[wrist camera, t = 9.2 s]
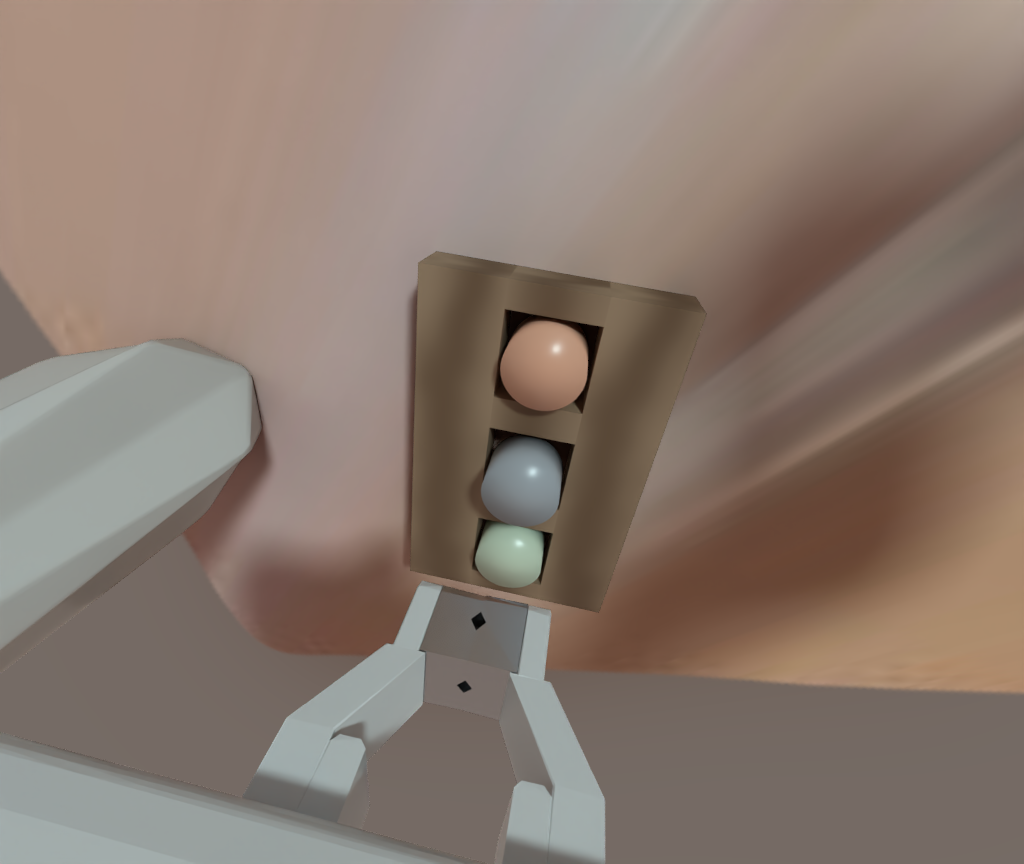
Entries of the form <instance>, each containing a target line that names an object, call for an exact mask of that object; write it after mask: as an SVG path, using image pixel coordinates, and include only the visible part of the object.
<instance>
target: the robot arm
mask: <svg viewBox="0 0 1024 864" xmlns="http://www.w3.org/2000/svg"><path fill="white" fill-rule="evenodd" d="M550 622H551V611H550V610H549V609H544V608H539V607H535V606H530V605H529V606H528V604H524V603H519V602H514V601H510V600H505V599H500V598H495V597H491V596H482V595H478V594H474V593H470V592H466V591H462V590H458V589H455V588H451V587H447V586H443V585H439V584H434V583H430V582H426V581H422V582H421V583H420V584H419V586H418V587H417V590H416V592H415V594H414V597H413V599H412V601H411V604H410V606H409V608H408V611H407V613H406V615H405V618H404V620H403V622H402V625H401V627H400V629H399V632H398V634H397V636H396V639H395V641H394V644H389V643H386V644H385V645H383V646H382V647H381V648H379V649H378V650H377V651H375V652H374V653H373V654H371V655H370V656H369V657H367V658H366V659H365V660H363V661H362V662H361V663H359V664H358V665H357V666H355V667H354V668H353V669H351V670H350V671H349V672H347V673H346V674H345V675H343V676H342V677H341V678H339V679H338V680H336V681H335V682H334V683H332V684H331V685H330V686H328V687H327V688H326V689H325V690H323V691H322V692H320V693H319V694H318V695H316V696H315V697H314V698H312V699H311V700H310V701H308V702H307V703H306V704H304V705H303V706H302V707H300V708H299V709H298V710H296V711H295V712H294V713H292V714H291V715H290V716H288V717H287V718H286V720H285V722H284V723H283V725H282V727H281V729H280V731H279V732H278V734H277V736H276V738H275V739H274V741H273V743H272V745H271V746H270V748H269V750H268V752H267V754H266V755H265V757H264V759H263V761H262V763H261V764H260V766H259V768H258V770H257V771H256V773H255V775H254V777H253V778H252V780H251V782H250V784H249V786H248V787H247V789H246V791H245V793H244V794H243V796H242V797H239V796H235V795H232V794H228V793H224V792H220V791H217V790H213V789H210V788H206V787H202V786H198V785H195V784H191V783H187V782H183V781H180V780H176V779H172V778H169V777H165V776H161V775H158V774H154V773H150V772H146V771H143V770H139V769H135V768H132V767H128V766H124V765H120V764H116V763H113V762H109V761H106V760H102V759H98V758H94V757H91V756H87V755H83V754H80V753H76V752H72V751H68V750H65V749H61V748H57V747H54V746H50V745H46V744H43V743H39V742H35V741H31V740H28V739H24V738H20V737H17V736H13V735H9V734H6V733H2V732H0V864H487V863H484V862H480V861H476V860H472V859H469V858H465V857H462V856H458V855H454V854H450V853H447V852H443V851H439V850H435V849H432V848H428V847H424V846H421V845H417V844H413V843H409V842H406V841H402V840H398V839H395V838H391V837H387V836H384V835H380V834H376V833H373V832H368V831H365V830H362V827H363V824H364V821H365V818H366V815H367V812H368V809H369V806H370V802H369V788H368V774H367V761H368V760H369V759H370V758H371V757H372V756H373V755H374V754H375V753H376V752H377V751H378V750H379V749H380V748H381V747H382V746H383V745H384V744H385V743H386V742H387V741H388V740H389V739H390V738H391V737H392V736H393V734H395V733H396V731H398V729H399V728H400V727H401V726H402V725H403V724H404V723H405V722H406V721H407V720H408V719H409V718H410V717H411V716H412V715H413V714H414V713H415V712H416V711H417V710H418V709H419V708H420V707H421V706H422V705H423V702H426V703H430V704H435V705H440V706H445V707H449V708H453V709H458V710H461V709H462V710H463V711H466V712H470V713H474V714H477V715H481V716H484V717H488V718H492V719H495V720H499V725H500V728H501V732H502V735H503V739H504V742H505V745H506V749H507V752H508V755H509V759H510V762H511V766H512V769H513V772H514V776H515V779H516V782H517V785H516V786H515V787H514V789H513V792H512V796H511V799H510V802H509V806H508V809H507V812H506V816H505V819H504V822H503V825H502V829H501V832H500V835H499V839H498V844H497V850H496V857H495V863H494V864H605V799H604V797H603V795H602V792H601V790H600V788H599V786H598V784H597V782H596V780H595V777H594V775H593V773H592V771H591V769H590V766H589V764H588V762H587V760H586V758H585V755H584V753H583V751H582V749H581V747H580V745H579V742H578V740H577V738H576V736H575V734H574V732H573V729H572V727H571V725H570V723H569V721H568V719H567V716H566V714H565V712H564V710H563V708H562V706H561V703H560V701H559V699H558V697H557V695H556V693H555V690H554V689H553V686H552V684H551V682H548V681H545V680H544V676H545V675H544V674H545V667H546V658H547V649H548V640H549V631H550Z"/></svg>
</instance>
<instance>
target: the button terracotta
mask: <svg viewBox="0 0 1024 864" xmlns="http://www.w3.org/2000/svg"><path fill="white" fill-rule="evenodd" d="M588 354H589V347H588V341H587V338H586V336H585V333H584V332H583V330H582V329H581V327H580V326H579V325H578V324H577V323H576V322H573V321H568V320H562V319H557V318H551V317H546V316H540V315H535V314H534V315H532V316H530V317H528V318H526V319H525V320H524V321H522V322H521V323H520V324H519V325H518V327H517V328H516V329H515V331H514V333H513V335H512V337H511V339H510V341H509V343H508V346H507V348H506V350H505V352H504V354H503V357H502V360H501V367H500V372H501V378H502V382H503V384H504V386H505V388H506V390H507V391H508V393H509V394H510V395H511V396H512V398H514V399H515V400H516V401H517V402H518V403H520V404H521V405H523V406H525V407H528V408H530V409H534V410H539V411H552V410H557V409H560V408H563V407H565V406H567V405H569V404H570V403H572V402H573V401H574V400H575V399H576V398H577V397H578V396H579V395H580V394H581V392H582V391H583V388H584V386H585V384H586V380H587V372H588Z"/></svg>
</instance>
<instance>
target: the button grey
mask: <svg viewBox="0 0 1024 864" xmlns="http://www.w3.org/2000/svg"><path fill="white" fill-rule="evenodd" d="M562 472H563V464H562V460H561V457H560V455H559V453H558V452H557V450H556V449H555V448H554V447H553V446H552V445H551V444H550V443H548V442H547V441H545V440H543V439H541V438H538V437H535V436H530V435H517V436H513V437H510V438H508V439H506V440H504V441H502V442H501V443H500V444H499V445H498V446H497V447H496V449H495V450H494V452H493V455H492V458H491V460H490V463H489V466H488V469H487V472H486V475H485V477H484V480H483V483H482V487H481V497H482V500H483V503H484V505H485V506H486V508H487V509H488V511H489V512H490V513H491V514H492V515H493V516H495V517H496V518H497V519H499V520H501V521H503V522H505V523H507V524H510V525H514V526H522V527H527V526H535V525H538V524H541V523H543V522H545V521H547V520H548V519H550V518H551V517H552V516H553V515H554V513H555V512H556V510H557V508H558V505H559V498H560V489H561V481H562Z"/></svg>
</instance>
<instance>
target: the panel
mask: <svg viewBox="0 0 1024 864" xmlns="http://www.w3.org/2000/svg"><path fill="white" fill-rule="evenodd" d="M512 310H513V311H518V312H524V313H529V314H535V315H540V316H546V317H551V318H557V319H562V320H568V321H573V322H579V323H584V324H590V325H595V326H599V331H598V335H597V339H596V343H595V347H594V351H593V356H592V360H591V364H590V368H589V372H588V376H587V380H586V385H585V389H584V391H582V392H581V394H580V395H579V396H578V397H577V398H576V399H575V400H574V401H573V402H572V403H570V404H569V405H567V406H565V407H563V408H560V409H557V410H552V411H539V410H534V409H530V408H528V407H525V406H523V405H521V404H520V403H518V402H517V401H516V400H515V399H514V398H512V396H511V395H510V394H509V393H508V391H507V390H506V388H505V386H504V384H503V382H502V378H501V372H500V367H501V360H502V357H503V354H504V352H505V350H506V348H507V341H508V333H509V326H510V319H511V311H512ZM705 317H706V312H705V311H704V309H703V308H702V306H701V304H700V303H699V301H698V300H697V298H696V297H693V296H687V295H682V294H676V293H670V292H665V291H659V290H653V289H648V288H642V287H636V286H630V285H625V284H619V283H613V282H608V281H602V280H596V279H591V278H585V277H579V276H574V275H568V274H562V273H557V272H551V271H545V270H540V269H534V268H528V267H522V266H517V265H511V264H505V263H500V262H494V261H488V260H483V259H477V258H471V257H466V256H460V255H454V254H449V253H443V252H437V251H436V252H435V253H433V254H431V255H430V256H428V257H427V258H425V259H423V260H422V261H420V262H418V294H417V332H416V370H415V407H414V445H413V483H412V521H411V559H410V571H414V572H419V573H423V574H428V575H432V576H437V577H441V578H446V579H450V580H455V581H459V582H464V583H468V584H473V585H477V586H482V587H486V588H491V589H495V590H500V591H504V592H509V593H513V594H518V595H522V596H527V597H531V598H536V599H540V600H545V601H549V602H554V603H558V604H562V605H567V606H571V607H576V608H580V609H585V610H589V611H594V612H598V613H599V611H600V608H601V605H602V603H603V600H604V597H605V594H606V591H607V589H608V586H609V583H610V580H611V578H612V575H613V572H614V569H615V566H616V564H617V561H618V558H619V555H620V553H621V550H622V547H623V544H624V542H625V539H626V536H627V533H628V530H629V528H630V525H631V522H632V519H633V517H634V514H635V511H636V508H637V506H638V503H639V500H640V497H641V494H642V492H643V489H644V486H645V483H646V481H647V478H648V475H649V472H650V469H651V467H652V464H653V461H654V458H655V456H656V453H657V450H658V447H659V445H660V442H661V439H662V436H663V433H664V431H665V428H666V425H667V422H668V420H669V417H670V414H671V411H672V408H673V406H674V403H675V400H676V397H677V395H678V392H679V389H680V386H681V384H682V381H683V378H684V375H685V372H686V370H687V367H688V364H689V361H690V359H691V356H692V353H693V350H694V348H695V345H696V342H697V339H698V336H699V334H700V331H701V328H702V325H703V323H704V320H705ZM496 429H500V430H505V431H510V432H515V433H520V434H525V435H530V436H535V437H540V438H545V439H550V440H555V441H560V442H565V443H570V444H571V447H570V451H569V455H568V459H567V464H566V468H565V472H564V476H563V480H562V482H561V489H560V498H559V505H558V508H557V510H556V512H555V513H554V515H553V516H552V517H551V518H550V519H548V520H547V521H545V522H543V523H541V524H538V525H535V526H527V527H525V528H529V529H534V530H539V531H544V532H548V533H550V534H549V538H548V543H547V547H546V551H545V554H543V558H542V565H541V572H540V575H539V576H538V578H537V579H536V580H535V581H534V582H533V583H531V584H529V585H527V586H524V587H519V588H508V587H503V586H499V585H496V584H494V583H492V582H490V581H489V580H487V579H486V578H485V577H484V576H482V574H481V573H480V572H479V570H478V569H477V566H476V563H475V557H476V553H477V550H478V546H479V543H480V540H481V533H482V526H483V519H487V520H492V521H497V522H501V523H505V522H503V521H501V520H499V519H497V518H496V517H495V516H493V515H492V514H491V513H490V512H489V511H488V509H487V508H486V506H485V505H484V503H483V500H482V497H481V487H482V483H483V480H484V477H485V475H486V472H487V469H488V466H489V463H490V460H491V458H492V452H493V444H494V437H495V430H496ZM506 524H507V523H506ZM520 527H522V526H520Z"/></svg>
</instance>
